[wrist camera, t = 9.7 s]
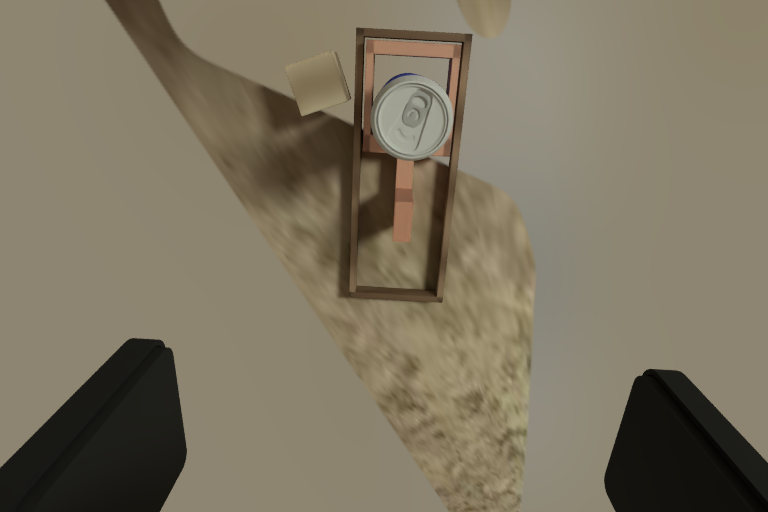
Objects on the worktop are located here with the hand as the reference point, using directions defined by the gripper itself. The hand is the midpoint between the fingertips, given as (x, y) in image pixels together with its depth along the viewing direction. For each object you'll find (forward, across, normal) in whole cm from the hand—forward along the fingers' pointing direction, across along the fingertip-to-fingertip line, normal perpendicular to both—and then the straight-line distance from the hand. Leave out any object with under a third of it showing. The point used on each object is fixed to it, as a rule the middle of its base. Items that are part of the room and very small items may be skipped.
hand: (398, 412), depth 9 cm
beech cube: (+36, +7, -5) cm, 37 cm away
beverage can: (+36, -1, -4) cm, 37 cm away
